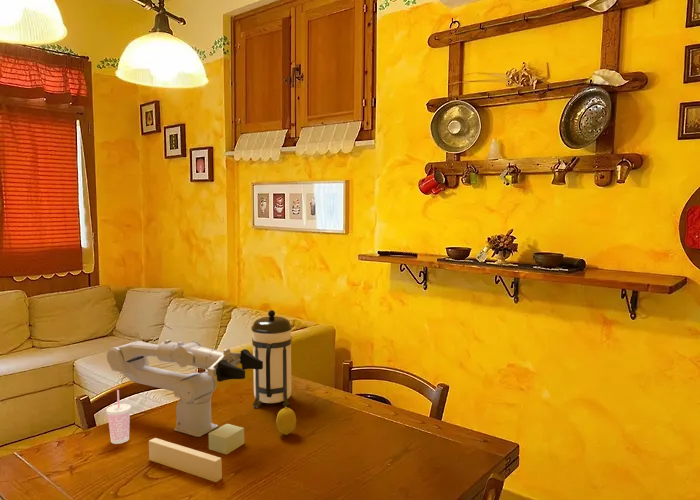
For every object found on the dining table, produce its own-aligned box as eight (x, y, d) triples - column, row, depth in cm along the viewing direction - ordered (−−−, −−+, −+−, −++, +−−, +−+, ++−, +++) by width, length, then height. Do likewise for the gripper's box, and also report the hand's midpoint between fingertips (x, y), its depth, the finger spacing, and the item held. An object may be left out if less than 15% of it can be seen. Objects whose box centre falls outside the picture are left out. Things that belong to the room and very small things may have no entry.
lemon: (299, 432, 149) (299, 404, 148) (291, 440, 144) (290, 412, 143) (281, 429, 151) (281, 402, 150) (272, 437, 146) (272, 409, 145)
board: (149, 460, 133) (148, 440, 133) (155, 456, 135) (155, 437, 135) (215, 482, 123) (215, 461, 122) (221, 478, 125) (221, 457, 124)
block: (208, 449, 139) (208, 433, 139) (227, 439, 145) (226, 423, 145) (226, 455, 136) (225, 438, 136) (244, 444, 142) (243, 428, 142)
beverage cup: (105, 446, 141) (102, 394, 139) (110, 436, 147) (108, 386, 145) (129, 443, 142) (127, 393, 141) (134, 434, 148) (132, 385, 147)
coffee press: (237, 401, 171) (235, 310, 168) (278, 389, 182) (277, 303, 179) (268, 418, 159) (266, 319, 156) (310, 404, 169) (309, 311, 166)
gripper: (194, 354, 139) (235, 364, 133) (230, 339, 152) (269, 347, 146) (194, 379, 140) (235, 390, 134) (230, 362, 153) (269, 371, 147)
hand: (253, 369), depth 140 cm, fingers open, 7 cm apart
